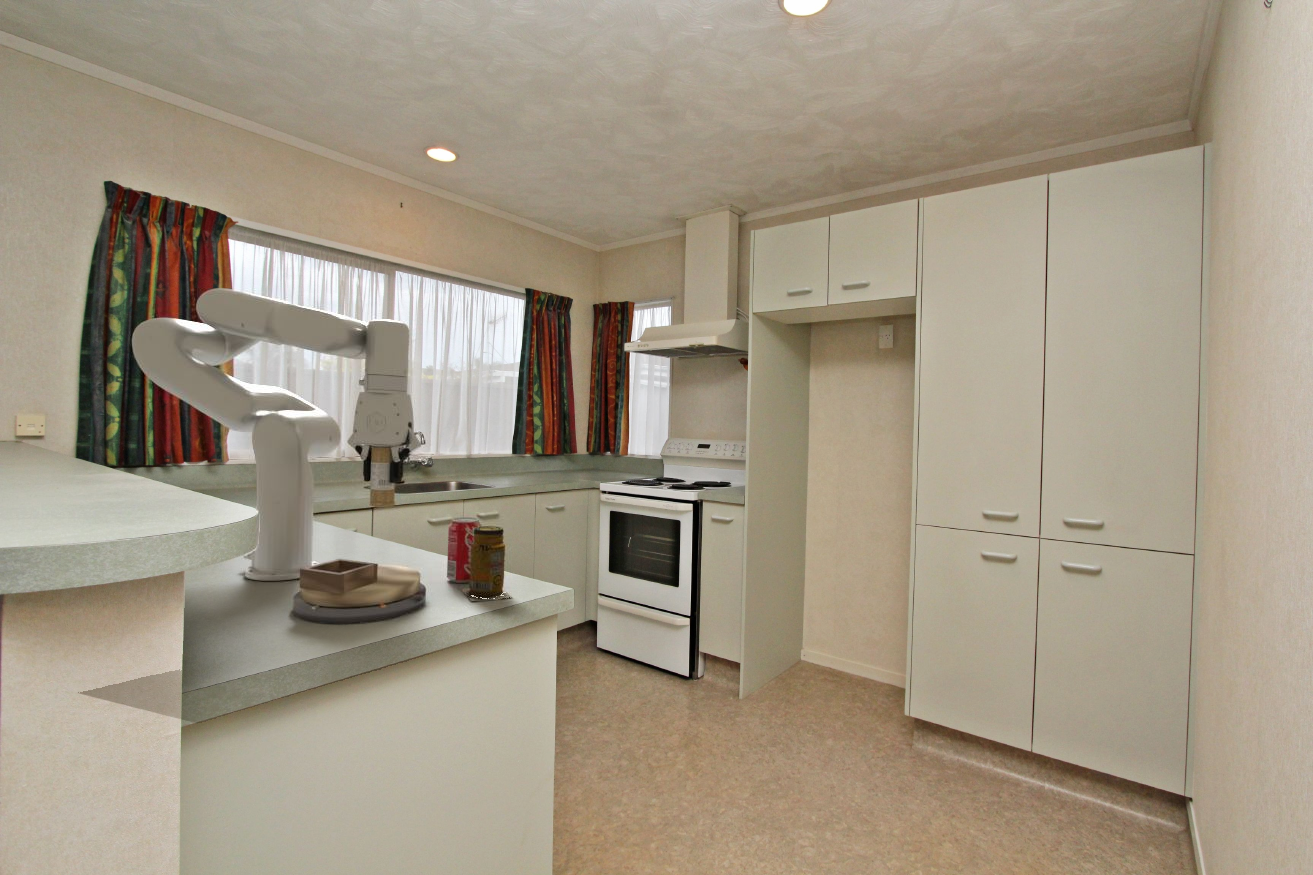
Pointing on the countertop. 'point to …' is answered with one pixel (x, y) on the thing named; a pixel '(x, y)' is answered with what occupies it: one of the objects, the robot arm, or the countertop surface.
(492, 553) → the condiment
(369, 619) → the dial plate
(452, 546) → the beverage can
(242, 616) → the countertop surface
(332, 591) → the dial
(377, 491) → the sprinkles bottle
